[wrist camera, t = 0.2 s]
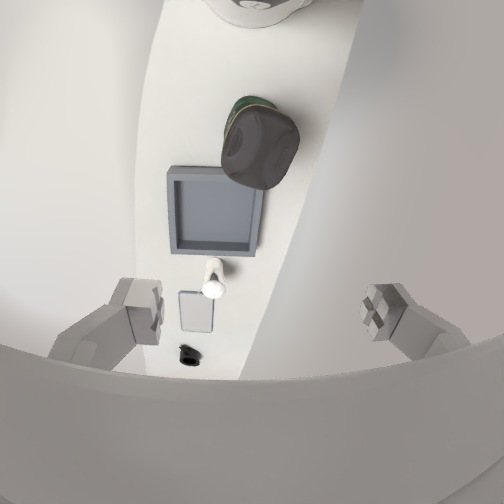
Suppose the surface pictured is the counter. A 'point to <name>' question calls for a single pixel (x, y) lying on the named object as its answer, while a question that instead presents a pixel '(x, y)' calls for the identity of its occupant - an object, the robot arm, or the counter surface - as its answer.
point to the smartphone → (196, 312)
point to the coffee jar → (258, 143)
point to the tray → (211, 213)
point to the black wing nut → (189, 356)
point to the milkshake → (213, 279)
